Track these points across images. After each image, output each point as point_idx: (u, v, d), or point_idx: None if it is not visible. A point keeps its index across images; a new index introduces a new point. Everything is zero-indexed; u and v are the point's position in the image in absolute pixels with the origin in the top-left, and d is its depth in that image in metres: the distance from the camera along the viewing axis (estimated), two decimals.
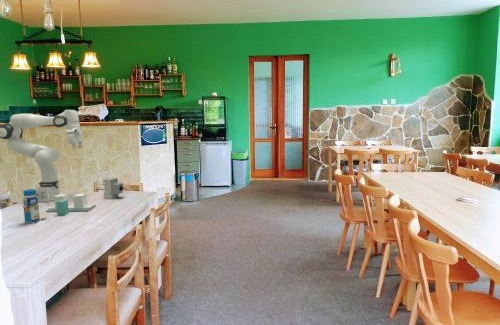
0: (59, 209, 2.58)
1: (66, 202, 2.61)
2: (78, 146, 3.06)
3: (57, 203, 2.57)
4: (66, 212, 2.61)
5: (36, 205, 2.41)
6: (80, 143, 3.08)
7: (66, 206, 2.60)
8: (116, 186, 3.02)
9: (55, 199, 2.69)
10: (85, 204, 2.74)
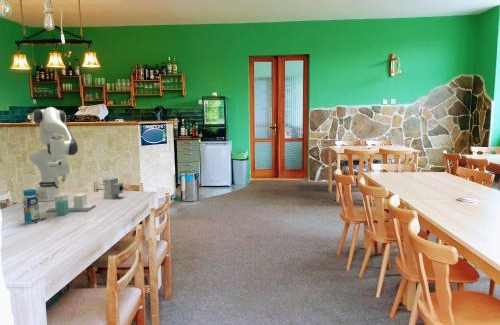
0: (59, 209, 2.58)
1: (66, 202, 2.61)
2: None
3: (57, 203, 2.57)
4: (66, 212, 2.61)
5: (36, 205, 2.41)
6: (64, 176, 2.63)
7: (66, 206, 2.60)
8: (116, 186, 3.02)
9: (55, 199, 2.69)
10: (85, 204, 2.74)
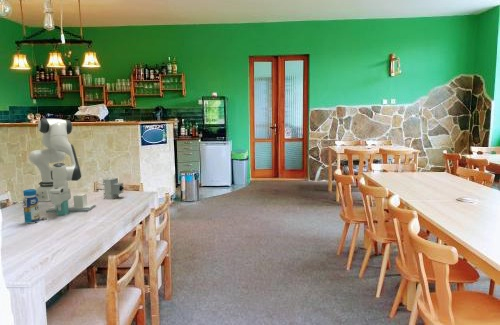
0: None
1: (66, 202, 2.61)
2: None
3: None
4: (66, 212, 2.61)
5: (36, 205, 2.41)
6: None
7: (66, 206, 2.60)
8: (116, 186, 3.02)
9: None
10: (85, 204, 2.74)
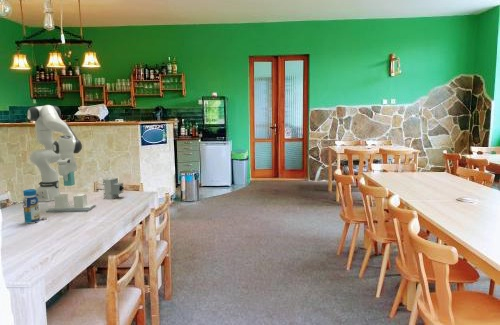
0: None
1: (72, 173, 2.71)
2: None
3: None
4: (72, 183, 2.71)
5: (36, 205, 2.41)
6: None
7: (72, 177, 2.71)
8: (116, 186, 3.02)
9: (55, 199, 2.69)
10: (85, 204, 2.74)
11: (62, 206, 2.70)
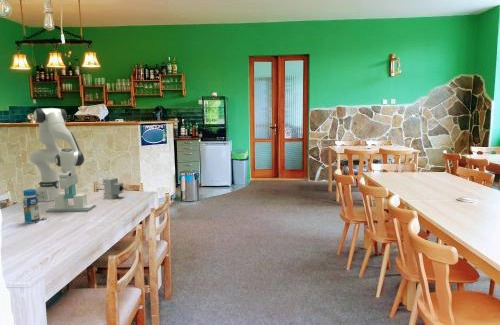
0: None
1: (74, 186, 2.73)
2: None
3: None
4: (74, 195, 2.72)
5: (36, 205, 2.41)
6: None
7: (73, 190, 2.72)
8: (116, 186, 3.02)
9: (55, 199, 2.69)
10: (85, 204, 2.74)
11: (62, 206, 2.70)
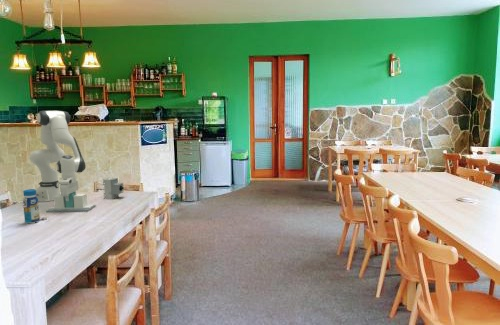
0: (67, 201, 2.70)
1: (74, 195, 2.73)
2: None
3: None
4: None
5: (36, 205, 2.41)
6: (74, 192, 2.78)
7: None
8: (116, 186, 3.02)
9: (55, 199, 2.69)
10: (85, 204, 2.74)
11: (62, 206, 2.70)
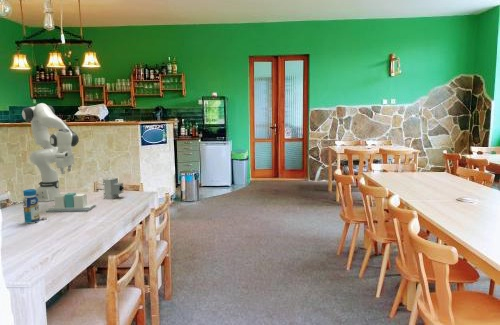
0: (67, 201, 2.70)
1: (74, 195, 2.73)
2: (67, 169, 2.79)
3: (66, 195, 2.70)
4: None
5: (36, 205, 2.41)
6: (70, 166, 2.80)
7: None
8: (116, 186, 3.02)
9: (55, 199, 2.69)
10: (85, 204, 2.74)
11: (62, 206, 2.70)
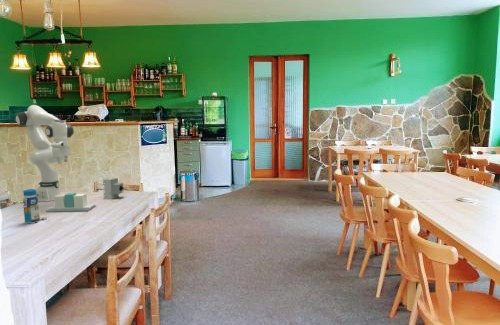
0: (67, 201, 2.70)
1: (74, 195, 2.73)
2: (64, 160, 2.83)
3: (66, 195, 2.70)
4: None
5: (36, 205, 2.41)
6: (66, 157, 2.85)
7: None
8: (116, 186, 3.02)
9: (55, 199, 2.69)
10: (85, 204, 2.74)
11: (62, 206, 2.70)
